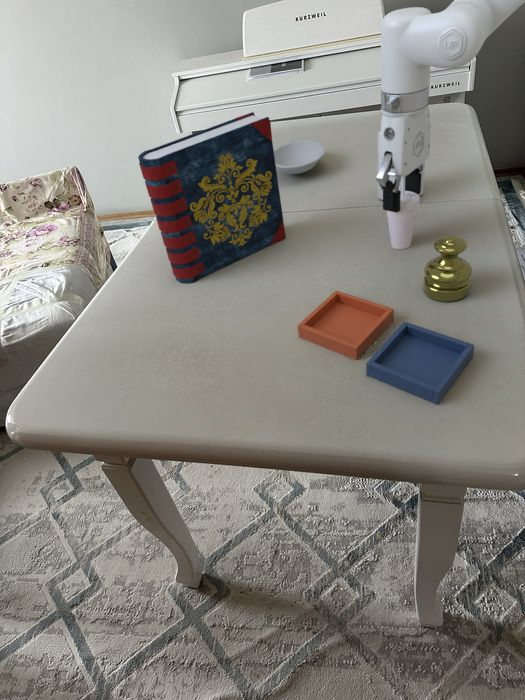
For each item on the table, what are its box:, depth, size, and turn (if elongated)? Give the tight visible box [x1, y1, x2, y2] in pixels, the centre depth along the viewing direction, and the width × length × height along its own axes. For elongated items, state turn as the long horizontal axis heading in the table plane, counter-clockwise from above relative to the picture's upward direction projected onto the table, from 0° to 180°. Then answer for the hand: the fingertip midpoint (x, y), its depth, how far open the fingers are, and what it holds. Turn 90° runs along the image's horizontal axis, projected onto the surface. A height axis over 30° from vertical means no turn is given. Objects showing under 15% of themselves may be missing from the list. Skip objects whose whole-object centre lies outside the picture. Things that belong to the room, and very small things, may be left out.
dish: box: [273, 139, 326, 175], centre depth 134 cm, size 18×14×5 cm
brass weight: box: [423, 235, 473, 303], centre depth 85 cm, size 7×7×10 cm
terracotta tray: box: [297, 289, 395, 361], centre depth 84 cm, size 11×11×2 cm
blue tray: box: [365, 321, 475, 405], centre depth 75 cm, size 11×11×2 cm
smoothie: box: [386, 177, 421, 250], centre depth 97 cm, size 6×6×14 cm
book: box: [137, 111, 287, 284], centre depth 100 cm, size 25×7×25 cm, turn 123°
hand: (401, 200), depth 95 cm, fingers open, 6 cm apart
